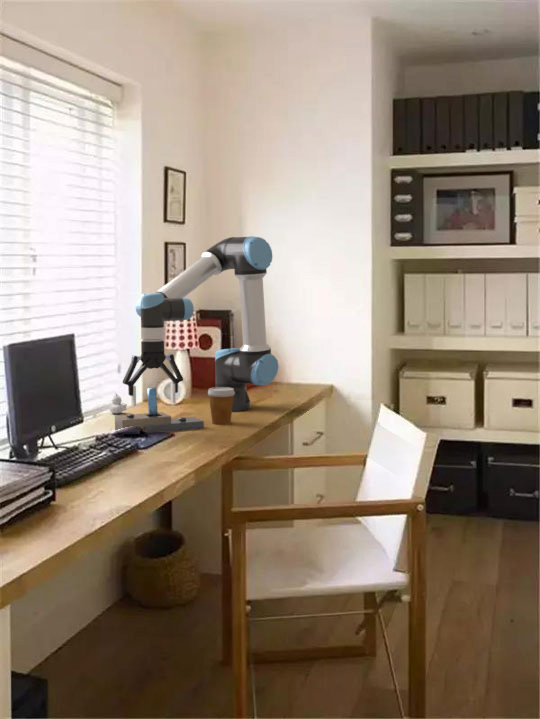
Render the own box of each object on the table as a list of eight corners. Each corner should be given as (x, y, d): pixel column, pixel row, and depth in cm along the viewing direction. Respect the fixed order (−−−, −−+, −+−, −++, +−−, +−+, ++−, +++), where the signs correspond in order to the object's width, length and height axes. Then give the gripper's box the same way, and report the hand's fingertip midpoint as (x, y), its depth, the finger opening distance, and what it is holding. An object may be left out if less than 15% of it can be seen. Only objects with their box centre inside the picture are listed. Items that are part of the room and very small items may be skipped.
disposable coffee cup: (239, 421, 306) (239, 387, 304) (229, 426, 297) (228, 391, 295) (214, 420, 309) (213, 386, 307) (203, 424, 300) (203, 390, 298)
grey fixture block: (194, 423, 301) (194, 407, 300) (203, 428, 293) (203, 411, 292) (115, 430, 289) (114, 413, 289) (122, 435, 281) (122, 417, 280)
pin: (157, 428, 292) (154, 387, 291) (159, 430, 290) (157, 388, 288) (148, 429, 291) (145, 388, 289) (151, 431, 288) (148, 389, 287)
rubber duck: (112, 412, 325) (112, 390, 324) (129, 412, 324) (129, 391, 323) (107, 414, 320) (106, 393, 319) (124, 415, 318) (123, 393, 317)
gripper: (184, 337, 296) (185, 399, 298) (112, 340, 285) (113, 405, 287) (192, 339, 289) (192, 403, 291) (118, 342, 278) (120, 408, 281)
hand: (153, 404), depth 289 cm, fingers open, 13 cm apart
